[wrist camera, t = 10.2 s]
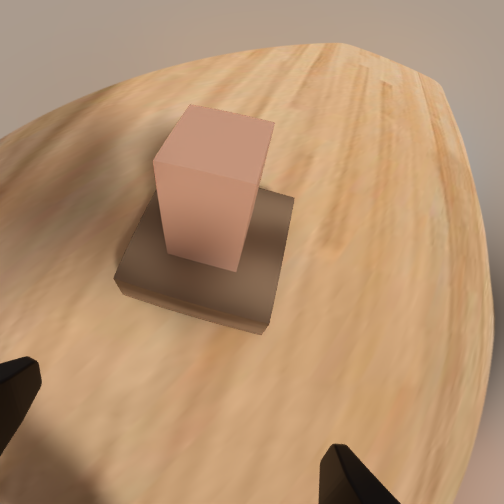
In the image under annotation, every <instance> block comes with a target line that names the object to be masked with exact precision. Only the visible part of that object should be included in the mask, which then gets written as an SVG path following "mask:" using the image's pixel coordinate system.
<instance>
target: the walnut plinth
mask: <svg viewBox="0 0 504 504" xmlns="http://www.w3.org/2000/svg"><path fill="white" fill-rule="evenodd" d="M293 204H294V198H293V197H290V196H286V195H283V194H279V193H275V192H272V191H268V190H265V189H261V188H258V192H257V196H256V200H255V204H254V208H253V213H252V216H251V220H250V224H249V227H248V231H247V235H246V238H245V242H244V246H243V249H242V253H241V257H240V260H239V264H238V268H237V271H236V272H233V271H230V270H226V269H222V268H218V267H215V266H211V265H207V264H203V263H200V262H196V261H192V260H189V259H185V258H182V257H178V256H174V255H171V254H168V253H167V248H166V243H165V237H164V231H163V225H162V219H161V213H160V207H159V201H158V194H157V189H156V191H155V193H154V195H153V197H152V199H151V201H150V203H149V204H148V206H147V208H146V210H145V212H144V214H143V216H142V218H141V220H140V222H139V224H138V226H137V228H136V230H135V232H134V234H133V236H132V239H131V241H130V243H129V245H128V247H127V249H126V251H125V253H124V256H123V258H122V260H121V262H120V264H119V267H118V269H117V271H116V273H115V276H114V280H115V282H116V284H117V285H118V287H119V288H120V290H121V292H122V293H123V294H124V295H127V296H129V297H132V298H135V299H138V300H141V301H144V302H147V303H151V304H154V305H157V306H160V307H163V308H166V309H170V310H173V311H176V312H179V313H183V314H186V315H189V316H193V317H196V318H200V319H203V320H207V321H210V322H214V323H217V324H221V325H224V326H228V327H232V328H236V329H239V330H243V331H247V332H251V333H255V334H259V335H262V333H263V332H264V331H265V329H266V328H267V326H268V325H269V323H270V318H271V313H272V309H273V304H274V299H275V295H276V290H277V285H278V280H279V275H280V270H281V266H282V261H283V256H284V251H285V245H286V240H287V235H288V230H289V225H290V220H291V214H292V209H293Z"/></svg>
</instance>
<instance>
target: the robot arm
mask: <svg viewBox="0 0 504 504" xmlns="http://www.w3.org/2000/svg"><path fill="white" fill-rule="evenodd" d="M41 384H42V379H41V374H40V368H39V364H38V362H37V361H36V360H34V359H32V358H30V357H28V356H26V357H22V358H18V359H15V360H11V361H8V362H4V363H0V456H1V454H2V453H3V451H4V449H5V448H6V446H7V445H8V443H9V441H10V440H11V438H12V437H13V435H14V434H15V432H16V431H17V429H18V428H19V426H20V425H21V423H22V421H23V419H24V418H25V416H26V414H27V412H28V410H29V408H30V406H31V404H32V402H33V400H34V399H35V397H36V395H37V393H38V391H39V389H40V387H41ZM319 504H401V503H400V502H399V501H398V500H397V499H396V498H395V497H394V496H393V495H392V494H391V493H390V492H389V491H388V490H387V489H386V488H385V487H384V486H383V485H382V483H381V482H380V481H379V480H378V479H377V478H376V477H375V476H374V475H373V474H372V473H371V472H370V470H369V469H368V468H367V467H366V466H365V465H364V464H363V463H362V462H361V461H360V459H359V458H358V457H357V456H356V455H355V454H354V453H353V452H352V451H351V449H350V448H349V447H348V446H347V445H345V444H332V445H331V446H330V448H329V449H328V451H327V452H326V454H325V455H324V457H323V458H322V460H321V463H320V479H319Z"/></svg>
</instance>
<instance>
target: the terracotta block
mask: <svg viewBox="0 0 504 504" xmlns="http://www.w3.org/2000/svg"><path fill="white" fill-rule="evenodd" d="M274 124H275V123H274V122H270V121H266V120H262V119H258V118H254V117H250V116H245V115H241V114H237V113H232V112H227V111H222V110H217V109H212V108H207V107H202V106H196V105H189V106H188V108H187V109H186V110H185V112H184V113H183V115H182V116H181V118H180V119H179V121H178V122H177V124H176V125H175V127H174V128H173V130H172V131H171V133H170V134H169V136H168V137H167V139H166V140H165V142H164V144H163V145H162V147H161V148H160V150H159V151H158V153H157V155H156V156H155V158H154V160H153V165H154V173H155V180H156V187H157V194H158V201H159V207H160V213H161V219H162V225H163V231H164V237H165V243H166V248H167V253H168V254H171V255H174V256H178V257H182V258H185V259H189V260H192V261H196V262H200V263H203V264H207V265H211V266H215V267H218V268H222V269H226V270H230V271H233V272H236V271H237V268H238V264H239V260H240V257H241V253H242V249H243V246H244V242H245V238H246V235H247V231H248V227H249V224H250V220H251V216H252V213H253V208H254V204H255V200H256V196H257V192H258V188H259V184H260V180H261V176H262V172H263V168H264V164H265V160H266V156H267V152H268V148H269V144H270V140H271V136H272V132H273V128H274Z"/></svg>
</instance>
